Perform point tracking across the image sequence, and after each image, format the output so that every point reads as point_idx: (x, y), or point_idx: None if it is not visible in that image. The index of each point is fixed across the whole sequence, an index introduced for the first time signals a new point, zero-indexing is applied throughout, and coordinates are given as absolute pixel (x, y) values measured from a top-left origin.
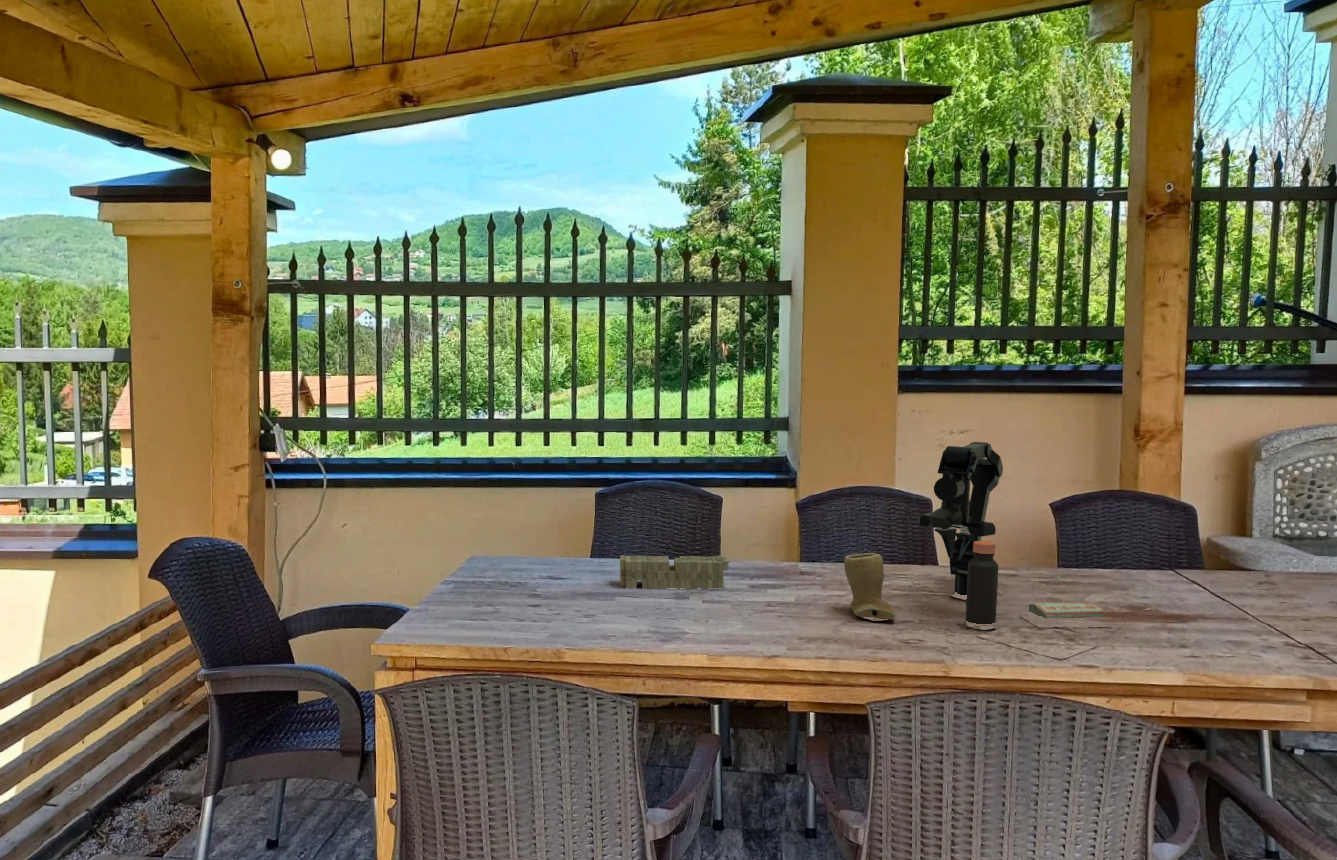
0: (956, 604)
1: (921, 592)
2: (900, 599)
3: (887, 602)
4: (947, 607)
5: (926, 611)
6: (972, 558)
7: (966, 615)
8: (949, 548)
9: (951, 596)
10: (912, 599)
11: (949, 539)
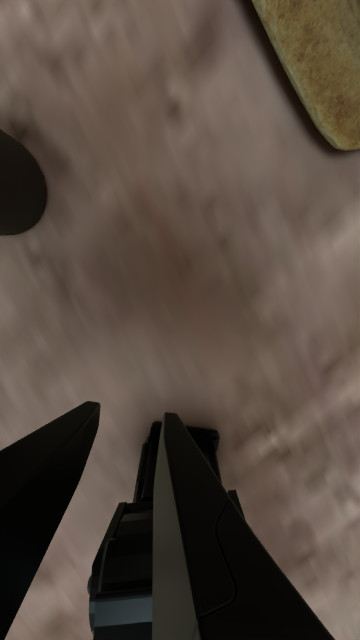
0: (175, 379)
1: (302, 426)
2: (324, 314)
3: (327, 119)
4: (180, 331)
5: (206, 239)
6: (129, 573)
7: (5, 134)
8: (166, 469)
9: (221, 444)
10: (294, 340)
11: (176, 621)
